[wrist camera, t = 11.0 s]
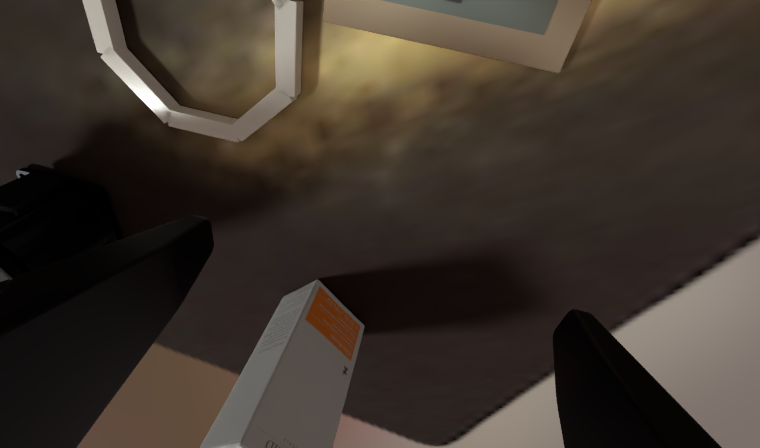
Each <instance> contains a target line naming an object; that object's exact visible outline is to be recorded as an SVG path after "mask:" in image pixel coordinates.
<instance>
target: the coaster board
mask: <svg viewBox="0 0 760 448" xmlns="http://www.w3.org/2000/svg"><path fill="white" fill-rule="evenodd" d="M591 1H592V0H462V3H461V4H460V3H455V2H451V1H447V0H324V12H323V22H327V23H332V24H336V25H341V26H346V27H350V28H355V29H359V30H364V31H368V32H373V33H377V34H382V35H387V36H391V37H396V38H400V39H405V40H409V41H414V42H419V43H423V44H428V45H432V46H437V47H441V48H446V49H450V50H455V51H460V52H464V53H469V54H473V55H478V56H482V57H487V58H492V59H496V60H501V61H505V62H510V63H514V64H519V65H523V66H528V67H533V68H537V69H542V70H546V71H551V72H555V73H560V70H561V68H562V66H563V64H564V61H565V59H566V57H567V55H568V53H569V50H570V48H571V46H572V44H573V41H574V39H575V37H576V35H577V32H578V30H579V28H580V26H581V24H582V21H583V19H584V17H585V15H586V12H587V10H588V8H589V6H590V4H591Z"/></svg>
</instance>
